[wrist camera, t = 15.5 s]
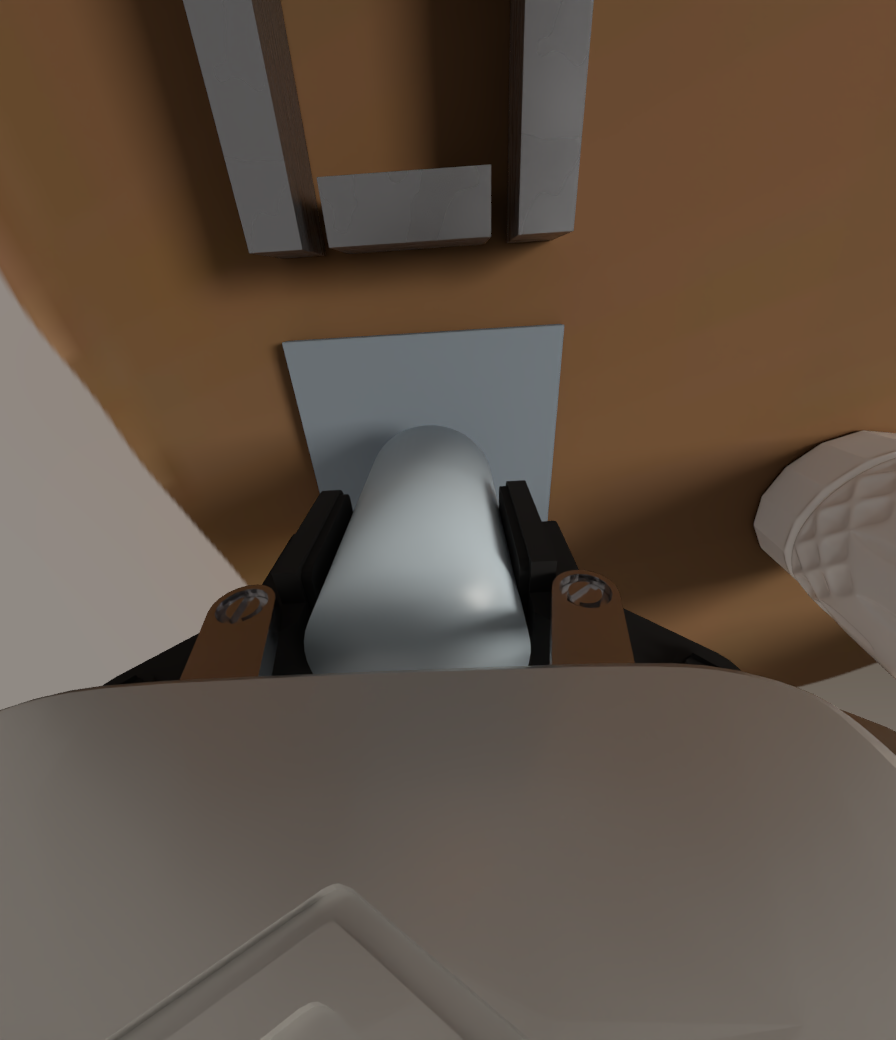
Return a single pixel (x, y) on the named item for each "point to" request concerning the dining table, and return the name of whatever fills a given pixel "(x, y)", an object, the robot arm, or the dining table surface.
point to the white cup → (841, 534)
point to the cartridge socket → (401, 194)
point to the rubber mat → (431, 399)
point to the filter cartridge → (421, 567)
